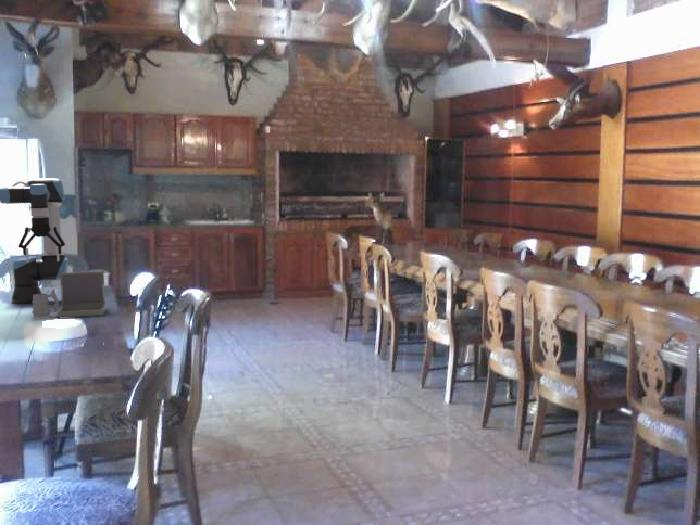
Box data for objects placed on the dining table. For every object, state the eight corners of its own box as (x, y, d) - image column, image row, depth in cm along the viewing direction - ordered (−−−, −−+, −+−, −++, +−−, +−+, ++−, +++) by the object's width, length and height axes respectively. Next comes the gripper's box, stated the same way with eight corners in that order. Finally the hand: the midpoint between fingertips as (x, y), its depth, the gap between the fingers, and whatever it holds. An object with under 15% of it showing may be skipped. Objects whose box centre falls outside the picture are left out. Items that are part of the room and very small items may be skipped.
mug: (31, 314, 352) (30, 289, 351) (58, 312, 358) (56, 287, 356) (33, 317, 346) (32, 291, 344) (60, 314, 351) (59, 289, 350)
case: (62, 311, 364) (60, 272, 361) (105, 308, 369) (103, 270, 367) (58, 318, 346) (55, 278, 343) (103, 315, 351) (101, 276, 349)
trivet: (36, 314, 355) (36, 313, 355) (58, 313, 358) (58, 312, 358) (33, 318, 346) (33, 317, 346) (56, 317, 348) (56, 316, 348)
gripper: (10, 218, 343) (13, 263, 346) (67, 216, 349) (70, 261, 353) (12, 216, 350) (15, 261, 353) (69, 215, 357) (71, 259, 360)
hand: (43, 261), depth 353 cm, fingers open, 13 cm apart
